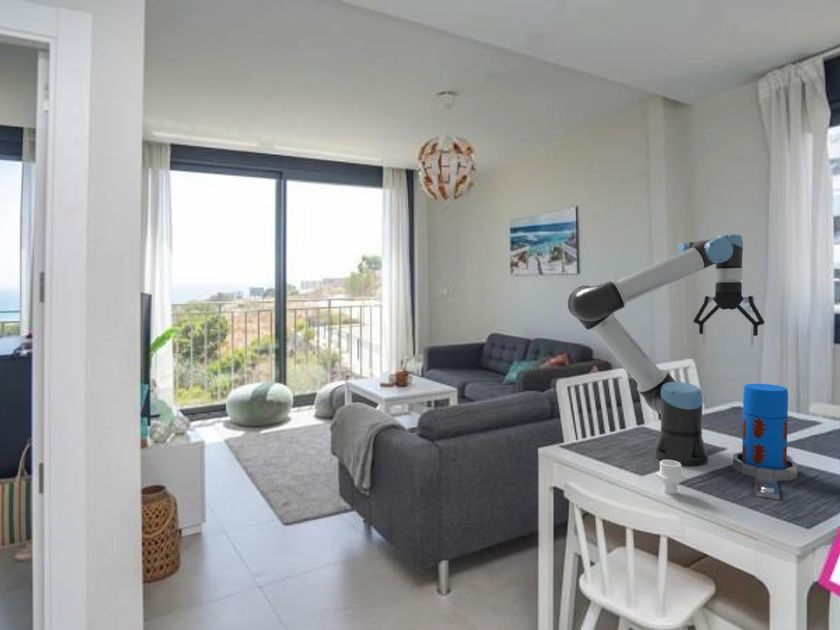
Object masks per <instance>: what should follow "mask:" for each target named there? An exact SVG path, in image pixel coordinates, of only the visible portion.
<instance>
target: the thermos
mask: <svg viewBox="0 0 840 630" xmlns="http://www.w3.org/2000/svg"><path fill="white" fill-rule="evenodd" d="M788 391H789V390H788V388H787V387H784V386H782V385H777V384H769V383H747V384H744V386H743V397H742V400H743V401H742V444H741V445H742V450H741V452H742V458H743V462H744V463H747V464H750V465H753V466H757V467H763V468H770V469H786V462H787V457H788V453H787V452H788V451H787V450H788V449H787V448H788V422H789V421H788V419H789V418H788V416H789V415H788V414H789V411H788V410H789V392H788Z"/></svg>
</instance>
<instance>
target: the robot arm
mask: <svg viewBox="0 0 840 630" xmlns="http://www.w3.org/2000/svg"><path fill="white" fill-rule="evenodd" d="M743 247H744V245H743V237H742V235H740V234H736V233H735V234H720V235H717V236H716V237H713V238H710V239H705V240H699V241H687V242H681V243H680V244H679V245H678V246H677V249H676V254H674V255H672V256H670V257H668V258H665V259H664V260H661V261H659V262H657V263H654V264H653V265H650V266H648V267H646V268H643V269H642V270H639V271H637V272H634V273H632V274H630V275H628V276H626V277H623V278H621V279H619V280H616V281H615V280H609V281H606V282H604V283H602V284H597V285H581V286H578V287H576V288H575V289H574V290H572V292H570V294H569V296H568V299H567V308H568V310H569V313H570V314H571V315H572V316H573V317H575V318H576V319H577V320H578V321H579V322H580V324H581V325H582V326H583V327H584V328H585V329H586V331H589V332H594V334H595V335H596V336H597V337H598V338H599V339H600V341H601V342H603V343H602V344H604V345H605V347H606V348H608V350H609V351H610V352H611V354H612V355H613V356H614V357H615V358H616V359H617V361H618V362H619V363H620V365H622V367H623V368H624V369H625V370H626V371H627V373H628V374H629V375H630V376H631V377H632V378H633V379H634V381H635V382H636V383H637V389H636V390H637V391H638V392H639V393H640V395H641V396H642V397H643V399H644V401H645V402H646V404H647V406H648V407H649V408H651V409H652V410H654V411H655V412H657V413H658V414H659V415H660V433H659V437H658V439H657V441H656V444H655V447H654V456H655V458H656V459H657V460H660V461H662V460H674V461H677V462H679V463H681V466H685V467H698V466H705V465H706V464H708V462H709V454H708V450H707V447H706V445H705V442H704V440H703V402H704V398H703V392H702V390H701V388H700V387H698V386H697V385H694V384H691V383H688V382H682V381H676V380H675V379H674V378H673V377H672V376H671V373H669V372H668V370H667V369H662V368H659V367H658V366H657V365H656V363H655V362H654V361H653V360H652V358H651V357H649V355H648V354H647V352H646V351H644V349H643V348H642V347H641V346H640V344H638V342H637V341H636V340H635V338H634V337H632V335H631V334H630V333H629V332H628V330H627V329H626V328H625V327H624V325H623V324H622V323H621V322H620V321H619V320H618V318H617V317H616V315H615V312H617V311H619V310H621V309H624V308H625V307H626V306H627V303H629V302H632V301H634V300H636V299H638V298H640V297H643V296H645V295H647V294H649V293H651V292H655V291H657V290H659V289H662V288H664V287H665V286H667V285H669V284H672V283H674V282H676V281H679V280H681V279H683V278H687V276H690V275H692V274H694V273H697V272H699V271H701V270H704V269H707V268H708V267H712V266H713V265H715V281H717V282H715V287H714V288H715V291H714V292H715V295H714V296H709V295H705V297H704V300H703V301H704V302H703V304H702V305H701V307H700V308H699V310H698V312H697V314H696V316H695V317H694V319H693V323H694V324H698V327H699V328H698V329H699V330H698V331H699V332H698V333H699V335H702V345H706V343H707V342H706V341H707V324H705V323H706V322H707V321H708V319H710V318H711V317H712V316H713V315H714V314H715V313H716V312H717V311H718V310H719V309H721V310H735V309H737V310H738V312H740V313H741V314H742V315H743V316H744V317H745V318H746V319H747V320H748V321H749V322H750V323H751V324H752V325H750V334H749V335H750V339H749V340H750V341H749V342H750V343H749V347H754V337H757V336H758V335H759V332H758V330H759V326H761V325H764V324H765V323H766V322H765V320H764V318H763V317H762V315H761V313H760V312H759V310H758V308H757V307H756V305H755V303H754V297H753V296H752V295H748V296H743V295H742V294H743V291H742V290H743V289H742V288H743V283H742V282H741V281H742V280H743V252H744V251H743V250H744V248H743ZM712 301H714V303H716V305H715V306H714V307H713V308H712V309H711V310H710V311H709V312H708V313H707V314H706V315H705V316H704V317H703V318H702V319H701V320H700V318H701V316H702V315H703V313H704V312H705V310H706V308H707V306H708V304H709V303H711V302H712ZM744 301H745V302H746V303H747V304H749V306H750V308H751V309H752V312H753V313H754V315H755V316H756V318H757V320H758V321H756V320H755V319H754V318H753V317H752V316H751V314H750V313H749V312H747V311H746V309H744V307H743V306H742V305H741V303H742V302H744Z"/></svg>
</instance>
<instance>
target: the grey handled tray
mask: <svg viewBox="0 0 840 630" xmlns="http://www.w3.org/2000/svg"><path fill="white" fill-rule="evenodd" d="M732 459H733V460H732V462H733V463H732V468H733V469H734V470H736V471H737V472H738V473H740V474H742V475H745V476H748V477H752V478H754V486H755V496H756V497H758V498H759V497H761V498H765V499H771V500H777V501H780V500H781V499H780V498H781V497H780V490H779V485H778V482H781V481H783V482H784V481H785V482H786V481H787V482H788V481H792V480H795V479H797V478H798V465H797V462H795V461H793V460H791V459H789V458H788V456H787V462H786V469H770V468H763V467H757V466H753V465H750V464H747V463H744V462H743V458H742V451H739V452H736V453H733V457H732Z"/></svg>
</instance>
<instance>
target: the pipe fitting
mask: <svg viewBox="0 0 840 630" xmlns="http://www.w3.org/2000/svg"><path fill="white" fill-rule="evenodd" d="M655 477H656V478H657V479H658V480H660V481H663V487H662V488H663V492H664V493H665V494H668V495H676V494H678V493H677V492H678V484H681V483H682V482H684V481H685V480H686V475H684V474H683V473H682V465H681V463H679V462H677V461H674V460H660V461H659V470H658V471H657V472H656V473H655Z"/></svg>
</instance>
